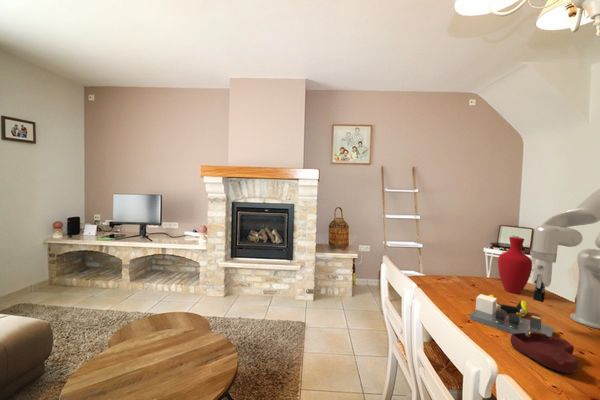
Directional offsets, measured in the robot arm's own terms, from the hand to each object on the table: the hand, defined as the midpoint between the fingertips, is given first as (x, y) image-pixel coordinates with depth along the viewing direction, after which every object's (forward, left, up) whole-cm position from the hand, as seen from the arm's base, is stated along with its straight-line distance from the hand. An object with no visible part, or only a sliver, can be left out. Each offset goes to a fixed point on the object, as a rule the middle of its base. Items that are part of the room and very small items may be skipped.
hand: (538, 300), depth 113 cm
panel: (+7, +10, -11) cm, 16 cm away
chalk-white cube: (+17, +6, -8) cm, 20 cm away
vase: (+15, -40, -11) cm, 44 cm away
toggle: (0, +7, -8) cm, 11 cm away
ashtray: (-4, +27, -11) cm, 30 cm away
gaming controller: (+11, -6, -11) cm, 16 cm away
